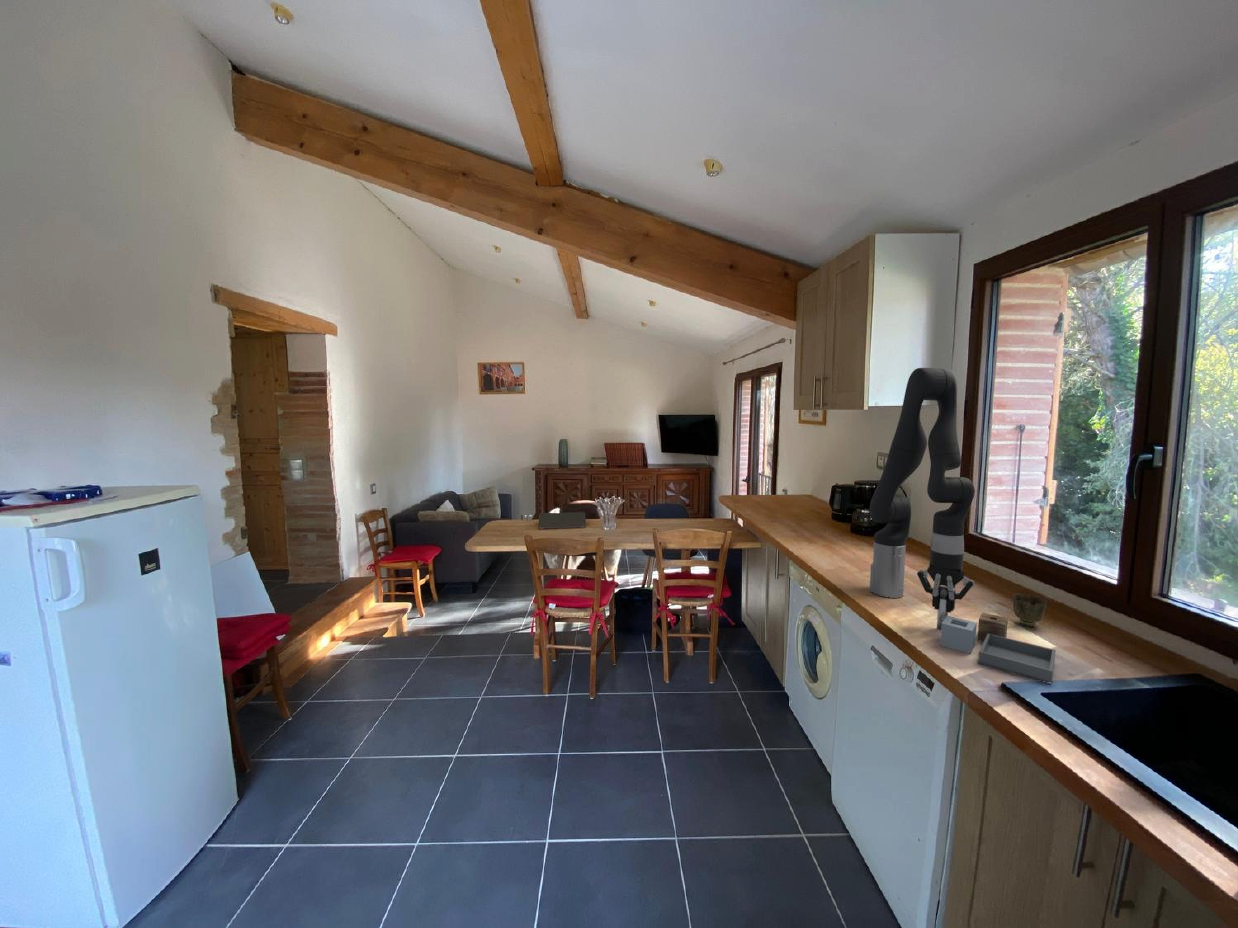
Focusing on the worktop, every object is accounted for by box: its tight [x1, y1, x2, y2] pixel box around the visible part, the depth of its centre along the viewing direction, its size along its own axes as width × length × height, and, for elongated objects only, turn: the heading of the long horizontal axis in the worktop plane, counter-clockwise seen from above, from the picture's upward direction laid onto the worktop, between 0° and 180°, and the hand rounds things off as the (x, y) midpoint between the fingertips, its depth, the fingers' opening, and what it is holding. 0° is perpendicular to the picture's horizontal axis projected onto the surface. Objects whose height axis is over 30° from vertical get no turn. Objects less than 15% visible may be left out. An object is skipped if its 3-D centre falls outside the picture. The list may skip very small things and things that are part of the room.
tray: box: [978, 633, 1057, 683], centre depth 117 cm, size 13×13×3 cm
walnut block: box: [976, 612, 1009, 643], centre depth 129 cm, size 6×6×6 cm
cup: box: [1012, 592, 1048, 628], centre depth 137 cm, size 8×7×8 cm
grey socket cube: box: [939, 615, 978, 655], centre depth 126 cm, size 6×6×6 cm
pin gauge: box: [936, 585, 949, 632], centre depth 135 cm, size 2×2×12 cm
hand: (943, 609), depth 135 cm, fingers closed on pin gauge, 2 cm apart
